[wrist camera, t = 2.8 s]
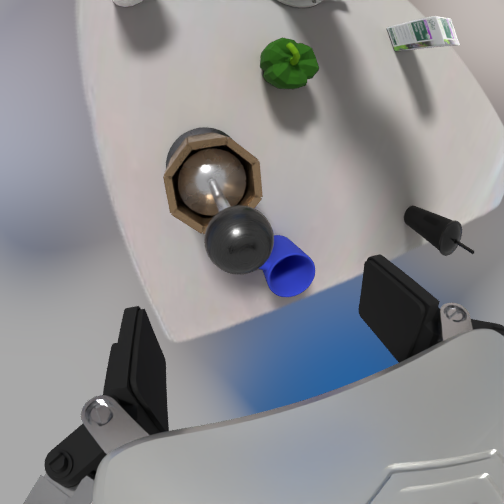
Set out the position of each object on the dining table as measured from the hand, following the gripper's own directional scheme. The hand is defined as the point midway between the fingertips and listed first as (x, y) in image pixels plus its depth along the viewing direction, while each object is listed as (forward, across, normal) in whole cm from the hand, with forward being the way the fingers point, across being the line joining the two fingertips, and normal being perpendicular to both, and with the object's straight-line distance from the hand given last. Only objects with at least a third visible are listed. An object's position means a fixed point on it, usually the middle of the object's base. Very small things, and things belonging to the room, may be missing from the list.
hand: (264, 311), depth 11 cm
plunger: (+23, 0, -1) cm, 23 cm away
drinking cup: (+38, -46, +15) cm, 61 cm away
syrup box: (+37, -42, -26) cm, 62 cm away
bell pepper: (+38, -14, -16) cm, 43 cm away
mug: (+38, -10, +16) cm, 42 cm away
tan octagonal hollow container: (+38, 0, 0) cm, 38 cm away
